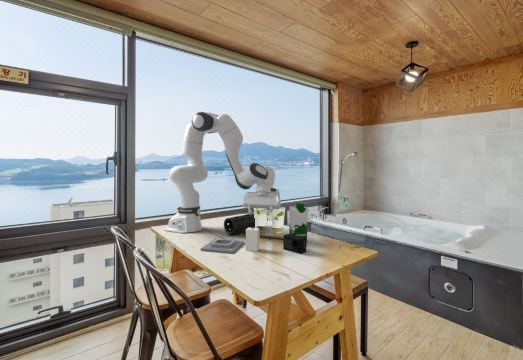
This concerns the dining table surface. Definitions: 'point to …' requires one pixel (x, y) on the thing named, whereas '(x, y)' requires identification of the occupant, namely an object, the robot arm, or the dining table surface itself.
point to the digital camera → (294, 243)
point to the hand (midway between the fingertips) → (258, 214)
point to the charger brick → (252, 239)
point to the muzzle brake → (239, 223)
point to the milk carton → (298, 220)
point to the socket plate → (223, 246)
